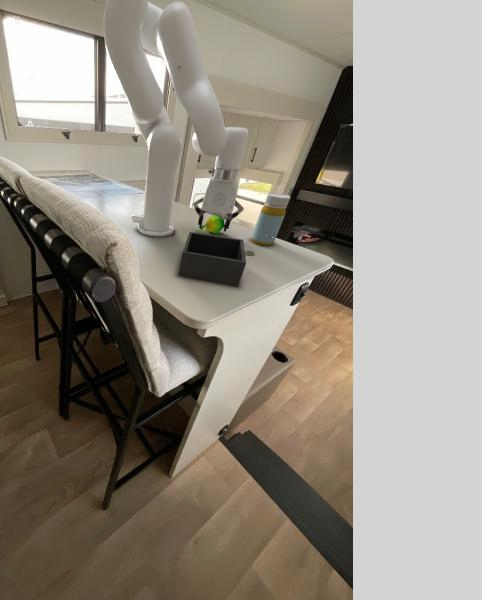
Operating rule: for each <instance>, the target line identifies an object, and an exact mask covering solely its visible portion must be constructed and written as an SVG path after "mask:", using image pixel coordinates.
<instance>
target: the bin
mask: <svg viewBox="0 0 482 600" xmlns="http://www.w3.org/2000/svg"><path fill="white" fill-rule="evenodd" d="M183 246H184V247H183V249H182V251H181V252H182V253H181V257H180V263H179V269H178V273H177V274H178V275H177V276H178V277H183V278H188V279H195V280H198V281H199V280H200V281H204V282H210V283H215V284H220V285H226V286H230V287H231V286H232V287H235V288H236V287H237V288H238V287H239V285H240V282H241V280H242V277H243V274H244V271H245V269H246V265H247V256H246V251H245V242H244V239H241V238H235V237H233V238H232V237H228V236H221V235H216V234H214V235H213V234H207V233H201V232H194V231H193V232H192V231H189V232H188V235H187V238H186V240H185V244H184V245H183Z"/></svg>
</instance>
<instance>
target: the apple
mask: <svg viewBox="0 0 482 600" xmlns="http://www.w3.org/2000/svg"><path fill="white" fill-rule="evenodd" d="M224 226H225V219H224V218H222V217H220V216H218V215H216V214H213V215H211V216H210V217H208V219H206V221H205V224H202V227H201V228H199V230H198V232H200V231H202V230H203V229H204V228H205V230H206V231H208V232H210V233H212V234H214V235H217V234H219V233H220V232H221V231H222V230H224Z"/></svg>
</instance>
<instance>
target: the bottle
mask: <svg viewBox="0 0 482 600" xmlns="http://www.w3.org/2000/svg"><path fill="white" fill-rule="evenodd" d="M290 200H291V196H290V195H288V194H285V193H279V192H269V193H268V194H267V196H266V199H265V202H264V205H263V206H262V208H261V210H260V212H259V214H258V218H257V220H256V223H255V226H254V230H253V232H252V235H251V241H252V242H253V243H254V244H256V245H259V246H264V247H265V246H267V247H268V246H272V245H273V244H275V241H276V239H275V238H277V236H278V234H279V231H280V228H281V226H282V224H283V221H284V219H285V216H286V211H287V207H288V205H289V202H290ZM266 235H267V236H266ZM272 237H273V238H272Z"/></svg>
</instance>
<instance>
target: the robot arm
mask: <svg viewBox="0 0 482 600" xmlns="http://www.w3.org/2000/svg"><path fill="white" fill-rule="evenodd" d="M103 36H104V37H103V38H104V45H105V49H106V52H107V56H108V59H109V62H110V64H111V67H112V70H113V71H114V73H115V77H116V79H117V80H118V83H119V85H120V88H121V90H122V92H123V94H124V96H125V97H126V100H127V102H128V105H129V109H130V113H131V116H132V118H133V120H134V122H135V124H136V125H137V128H138V130H139V132H140V134H141V136H142V138H143V140H144V142H145V144H146V146H147V159H146V160H147V162H146V173H145V174H146V175H145V188H144V203H143V215H140V216H139V215H134V214H132V215H131V221H132V223H135V224H138V225H137V230H138V231H139V233H141V234H143V235H146V236H150V237H159V238H160V237H167V236H170V235H172V234H173V233H174V230H175V229H174V227H173V225H171V219H172V211H173V203H174V196H175V189H176V182H177V176H178V174H177V173H178V168H179V162H180V158H181V154H182V148H183V139H182V138H183V137H182V133H181V130H179V128H178V127H177V125H175V124H174V123H172V121H171V119H170V117H169V114H168V112H167V110H166V107H165V105H164V95H163V91H162V90H161V88H160V86H159V83H158V81H157V79H156V77H155V75H154V72H153V70H152V67H151V64H150V62H149V60H148V57H147V54H146V52H145V51H147V52H149V53H151V54H153V55H156V56H158V57H161V58H163V60H164V63H165V65H166V69H167V71H168V74H169V78H170V80H171V81H170V82H171V83H172V87H173V90H174V93H175V96H176V98H177V100H178V102H179V103H180V104H181V105H182V106H183V108H184V109H185V110H186V113H187V115H188V117H189V119H190V123H191V125H192V127H193V131H194V133H193V135H192V138H191V146H192V148H193V150H194V151H195V152H196V153H197V154H198V155H201V156H203V157H205V158H215V162H214V166H213V168H211V169H210V168H209V169H208V172H207V173H208V175H211V177H209V179H208V181H207V184H206V187H205V191H204V195H203V196H202V197H199V198H198V199H196V200H194V201H193V202H192V206H193V208H194V210H195V212H196V214H197V215H198V221H197V225H198V226H199V227H198V228H199V229H200V228H201V227H202V225H203V221H204V216H205V214H206V212H207V213H216V214H223V215H226V216H227V217H226V218H225V221H224V224H225V226H224V228H223V232H227V230H229V229H230V225H231V221H233V219H235V218H237V217H238V216H239V215H241V213H242V212H243V211H244V210H245V208H244V206H242V205H241V203H239V201H238V200H237V197H238V191H239V185H240V182H239V181H240V180H238V176H239V172H240V169H241V164H242V162H243V161H242V160H243V157H244V153H245V149H246V144H247V141H248V137H249V130H248V128H246V127H240V126H226V125H225V120H224V116H223V112H222V109H221V105H220V102H219V100H218V98H217V96H216V93H215V91H214V88H213V85H212V83H211V80H210V78H209V77H208V73H207V69H206V65H205V62H204V59H203V55H202V54H203V53H202V50H201V46H200V42H199V39H198V36H197V31H196V27H195V23H194V19H193V16H192V13H191V11H190V9H189V7H188V6H187V4H186V3H184V2H183V1H174V2H172V3H169V4H168V5H167V6H166V7H165V8H164V9H163V8H161V7H159V6H158V5H155V4H154V3H152V2H150V1H149V0H106V2H105V7H104V13H103ZM199 204H201V208H200V206H199ZM235 207H236V208H237V210H235V211H234V208H235Z"/></svg>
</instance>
